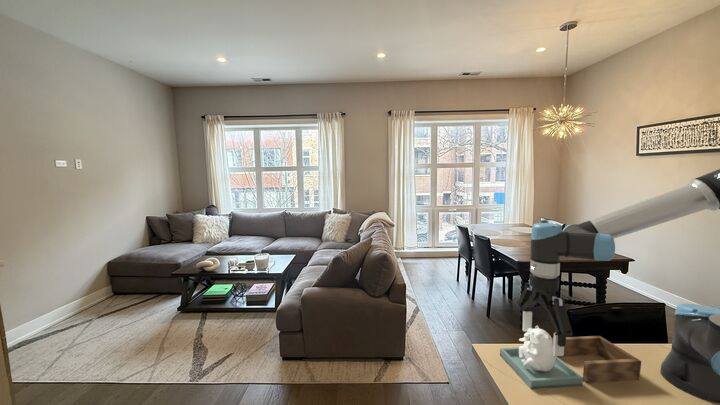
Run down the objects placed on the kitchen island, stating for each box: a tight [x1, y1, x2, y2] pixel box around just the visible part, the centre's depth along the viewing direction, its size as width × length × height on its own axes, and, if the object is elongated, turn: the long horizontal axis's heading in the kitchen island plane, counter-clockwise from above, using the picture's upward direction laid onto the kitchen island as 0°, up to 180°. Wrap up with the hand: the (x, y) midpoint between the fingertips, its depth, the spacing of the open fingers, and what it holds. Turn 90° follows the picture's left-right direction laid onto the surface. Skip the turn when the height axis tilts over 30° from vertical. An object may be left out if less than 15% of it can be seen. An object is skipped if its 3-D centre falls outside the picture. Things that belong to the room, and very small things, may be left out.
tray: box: [499, 346, 584, 390], centre depth 91 cm, size 16×16×2 cm
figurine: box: [518, 325, 556, 372], centre depth 91 cm, size 10×10×12 cm
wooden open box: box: [552, 335, 642, 384], centre depth 92 cm, size 17×14×6 cm
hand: (541, 342), depth 90 cm, fingers open, 13 cm apart
